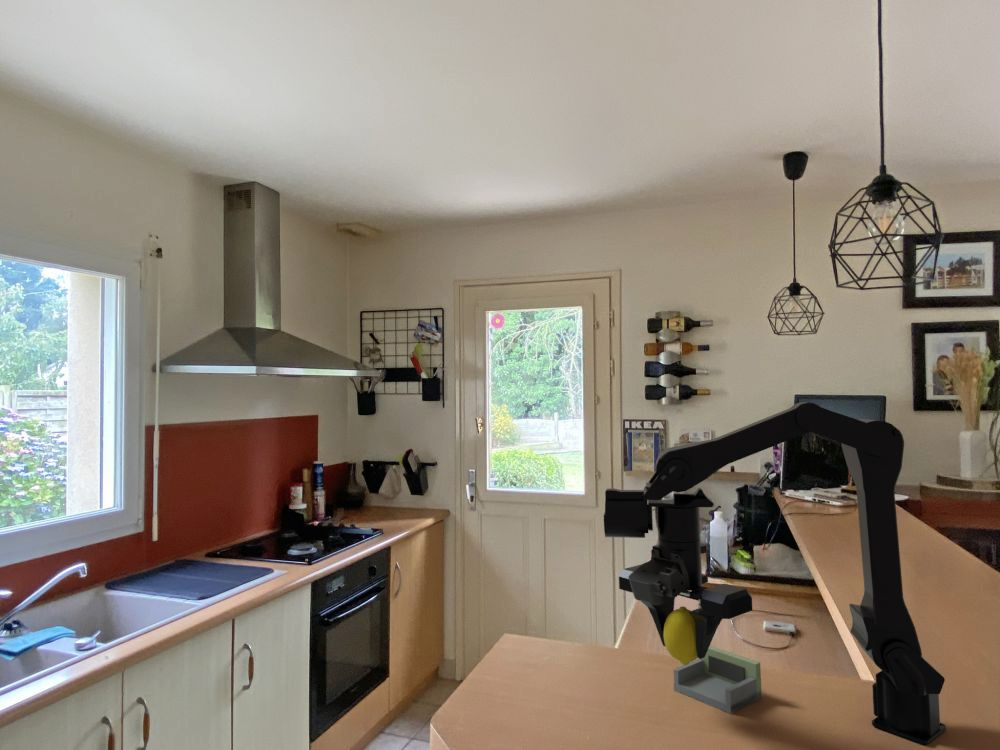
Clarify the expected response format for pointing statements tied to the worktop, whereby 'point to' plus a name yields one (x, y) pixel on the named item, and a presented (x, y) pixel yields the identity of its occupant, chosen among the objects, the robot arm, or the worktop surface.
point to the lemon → (680, 635)
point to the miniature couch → (720, 680)
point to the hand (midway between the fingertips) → (683, 651)
